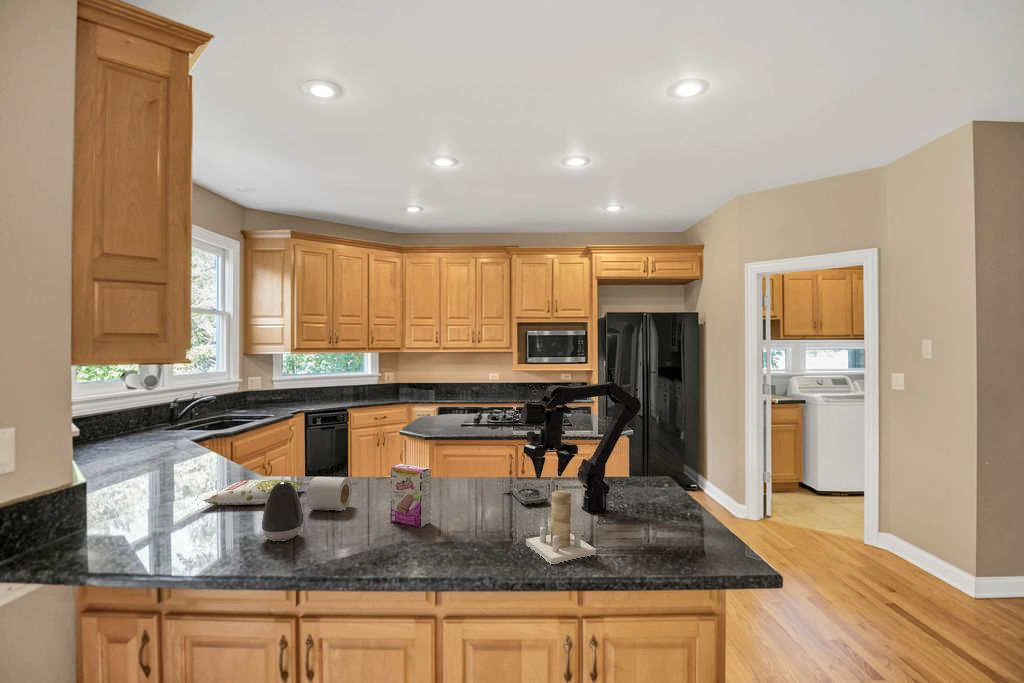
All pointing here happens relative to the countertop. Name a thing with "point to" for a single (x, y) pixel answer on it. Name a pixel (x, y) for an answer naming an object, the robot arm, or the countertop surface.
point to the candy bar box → (410, 495)
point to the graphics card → (526, 493)
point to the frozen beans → (247, 492)
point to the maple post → (561, 517)
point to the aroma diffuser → (282, 513)
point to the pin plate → (559, 554)
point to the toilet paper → (329, 493)
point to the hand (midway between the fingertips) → (548, 477)
